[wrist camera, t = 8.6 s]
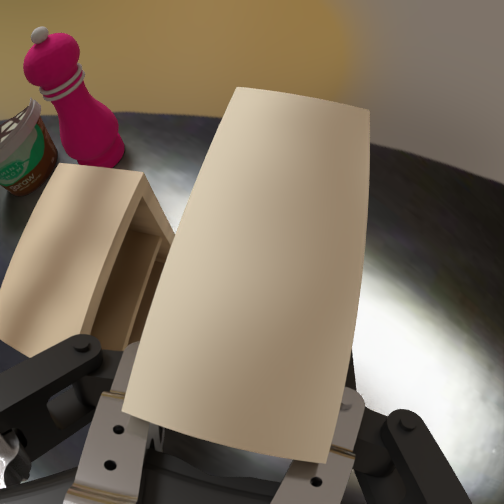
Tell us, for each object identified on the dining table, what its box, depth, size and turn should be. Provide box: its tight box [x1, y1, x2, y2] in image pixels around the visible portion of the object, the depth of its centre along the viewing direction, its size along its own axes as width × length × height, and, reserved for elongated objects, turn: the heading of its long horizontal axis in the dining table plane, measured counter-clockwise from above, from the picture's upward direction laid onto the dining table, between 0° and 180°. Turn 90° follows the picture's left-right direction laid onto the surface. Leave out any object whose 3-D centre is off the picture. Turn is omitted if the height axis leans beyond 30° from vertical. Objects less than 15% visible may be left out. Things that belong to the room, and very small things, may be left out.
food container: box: [0, 98, 57, 196], centre depth 31 cm, size 12×6×10 cm, turn 125°
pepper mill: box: [23, 27, 125, 168], centre depth 27 cm, size 7×7×20 cm
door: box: [122, 87, 370, 464], centre depth 12 cm, size 5×9×12 cm, turn 167°
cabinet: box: [0, 163, 175, 358], centre depth 21 cm, size 18×12×14 cm
